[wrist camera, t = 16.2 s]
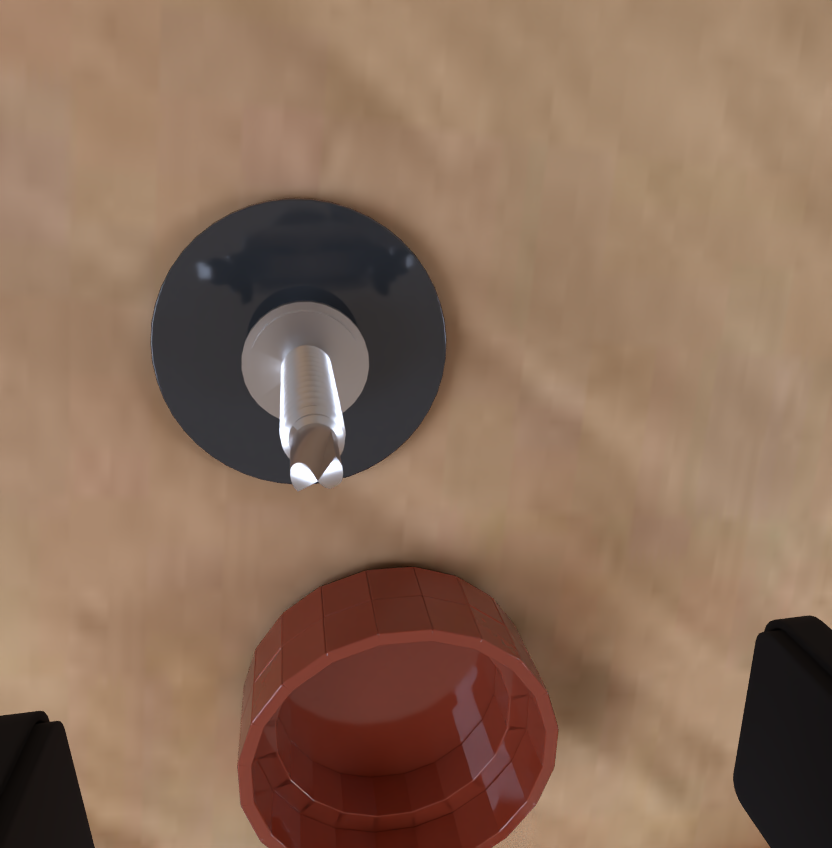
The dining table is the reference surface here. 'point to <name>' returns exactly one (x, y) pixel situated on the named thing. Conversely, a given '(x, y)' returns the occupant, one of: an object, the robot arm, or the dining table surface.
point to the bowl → (393, 718)
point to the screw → (307, 383)
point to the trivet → (282, 283)
